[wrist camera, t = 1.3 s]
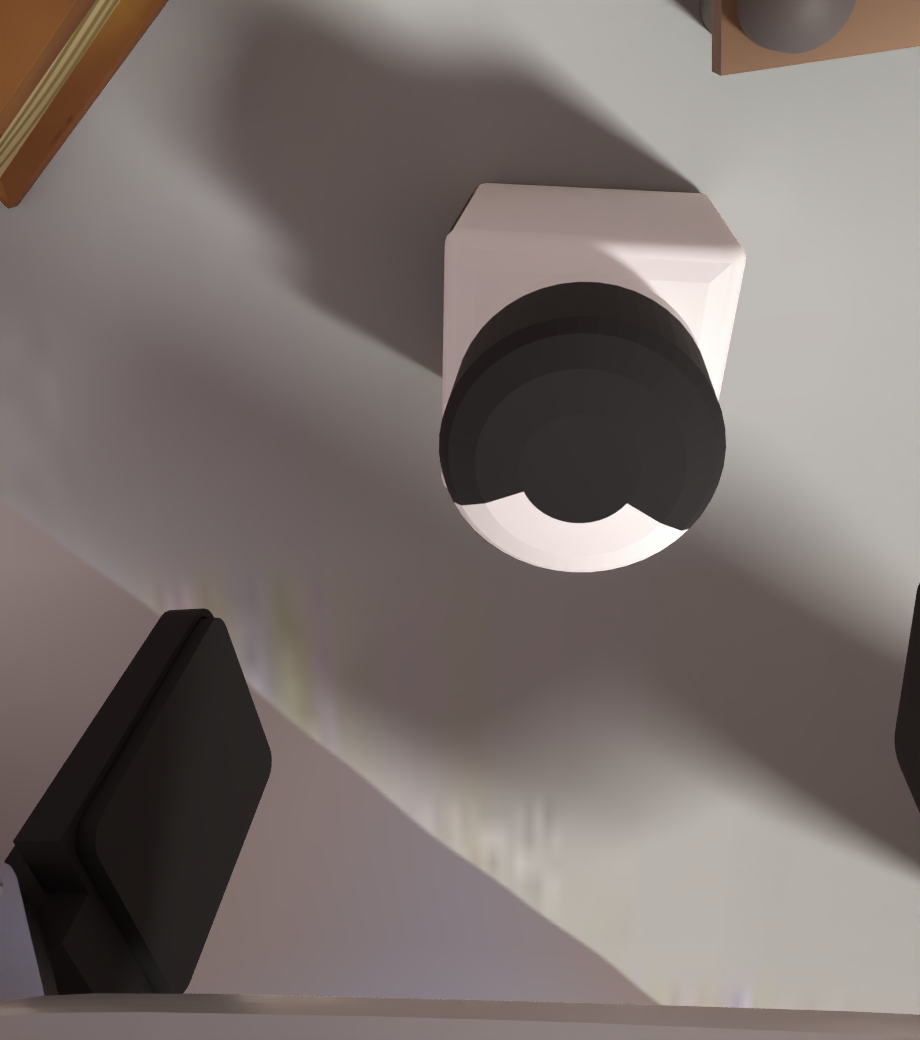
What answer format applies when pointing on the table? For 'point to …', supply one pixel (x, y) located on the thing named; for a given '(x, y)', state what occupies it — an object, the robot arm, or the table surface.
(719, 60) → the shelf stand
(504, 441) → the medicine bottle
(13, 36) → the diary
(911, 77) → the table surface
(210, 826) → the robot arm
